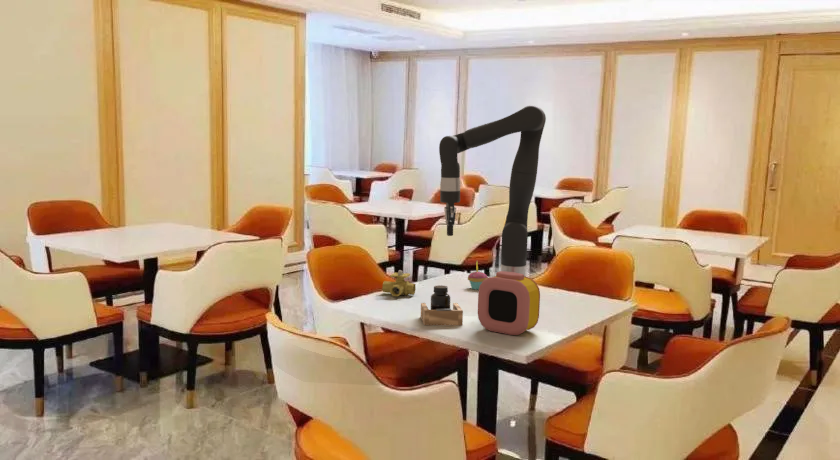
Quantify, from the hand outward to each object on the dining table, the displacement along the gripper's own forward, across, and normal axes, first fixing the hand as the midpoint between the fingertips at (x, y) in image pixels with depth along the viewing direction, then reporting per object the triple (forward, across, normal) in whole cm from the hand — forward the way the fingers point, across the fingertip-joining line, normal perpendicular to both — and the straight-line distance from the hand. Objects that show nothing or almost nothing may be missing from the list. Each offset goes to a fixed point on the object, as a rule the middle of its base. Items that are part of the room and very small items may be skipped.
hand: (449, 235), depth 277 cm
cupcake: (+27, +30, -16) cm, 43 cm away
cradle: (+26, -25, +6) cm, 37 cm away
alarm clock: (+27, -38, -15) cm, 49 cm away
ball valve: (+26, +15, +19) cm, 36 cm away
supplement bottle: (+27, -25, +6) cm, 37 cm away
